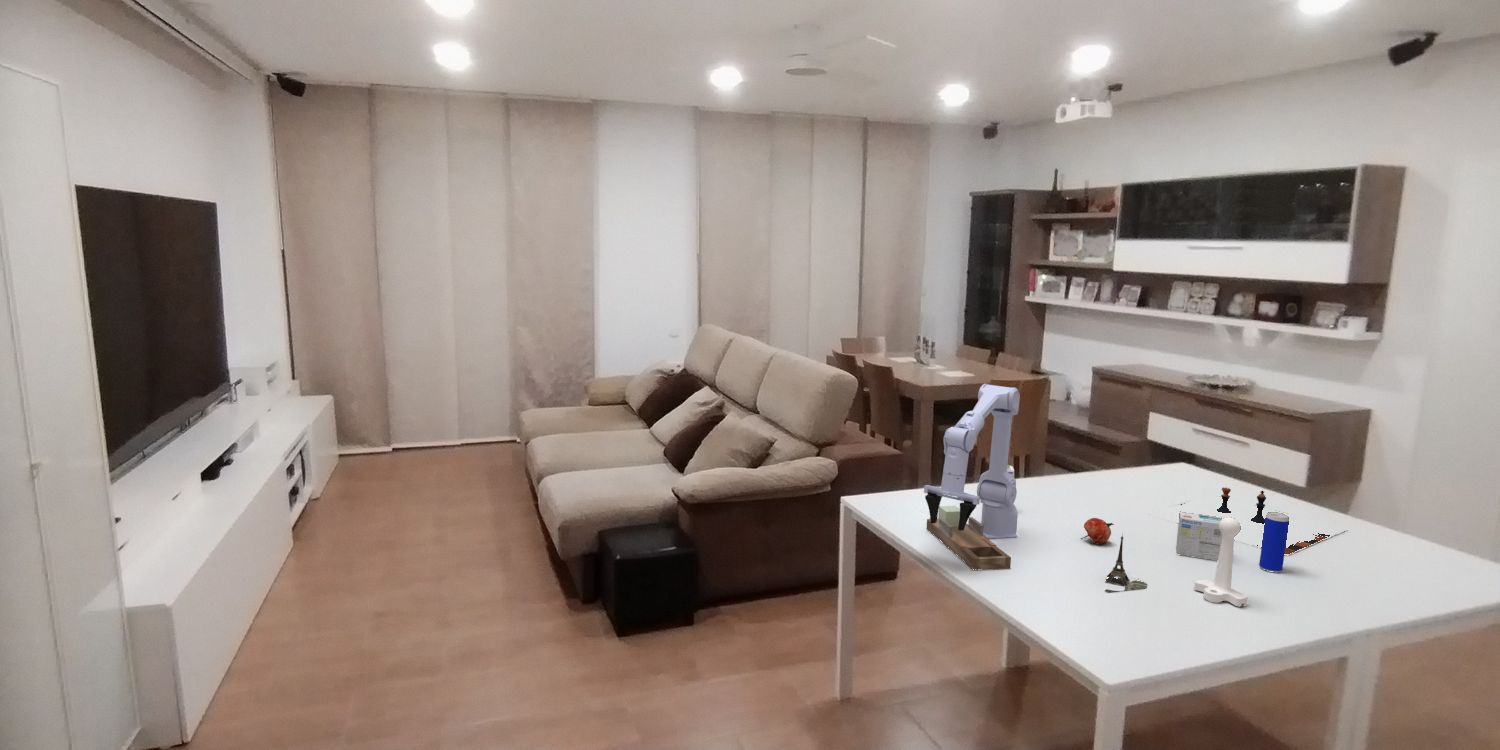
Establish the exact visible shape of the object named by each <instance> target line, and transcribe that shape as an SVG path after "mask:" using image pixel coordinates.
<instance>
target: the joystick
mask: <svg viewBox="0 0 1500 750" xmlns="http://www.w3.org/2000/svg"><path fill="white" fill-rule="evenodd" d="M1219 529H1220V531H1221V532H1222V535H1223V538H1222V543H1221V548H1220V553H1219V559H1218V561H1217V565H1216V571H1215V575H1214V581H1210V580H1207V579H1198V580H1196V581H1194V583H1193V584H1194V586H1193V590H1195V591H1199V592H1202V593H1203V595H1202V598H1203V599H1205V600H1206V602H1210V603H1212V604H1219V603H1221V602H1223V601H1224V602H1228V603H1231V604H1232V605H1233V606H1236V607H1247V605H1248V595H1246V594H1244V593H1242V592H1240V591H1238V590H1236V589H1233V588H1232V579H1233V578H1232V577H1233V576H1232V575H1233V564H1234V563H1233V561H1234V547H1235V543H1234V542H1235V540H1234V537H1235V536H1236V535H1237V534H1238V533H1239V532H1240V530H1241V526H1240V523H1239V522H1238V521H1237V520H1236V519H1235V518H1232V517H1226V518H1223V519H1222V520H1221V521H1220V523H1219Z"/></svg>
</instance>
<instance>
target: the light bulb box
mask: <svg viewBox="0 0 1500 750" xmlns="http://www.w3.org/2000/svg"><path fill="white" fill-rule="evenodd" d="M1221 520H1222V517H1216V516H1209V515H1202V514H1194V513H1186V512H1181V511H1180V513H1179V523H1177V525H1178V526H1177V535H1176V545H1175V551H1176V552H1175V553H1177V554H1180V555H1179V556H1183V555H1188V556H1187V557H1189V556H1194V557H1193V558H1195V557H1200V558H1199V559H1201V558H1206V559H1205V560H1207V559H1212V560H1211V561H1214V560H1218V559H1219V553H1220V548H1221V543H1222V538H1223V535H1222V532H1221V531H1220V529H1219V523H1220V521H1221ZM1177 554H1176V555H1177Z"/></svg>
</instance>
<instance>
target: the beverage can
mask: <svg viewBox="0 0 1500 750" xmlns="http://www.w3.org/2000/svg"><path fill="white" fill-rule="evenodd" d="M1283 513H1284V512H1283ZM1283 513H1278V512H1268V513H1267V515H1266V518H1265V525H1264V533H1263V540H1262V547H1261V548H1260V549H1261V550H1260V557H1259V563H1258V566H1259V568H1260V567H1261V568H1262V569H1261V568H1260V569H1261V570H1263V569H1265V570H1268V571H1273V572H1279V573H1280V571H1281V572H1282V571H1283V568H1284V561H1285V555H1284V554H1285V547H1286V540H1287V533H1288V525H1289V517H1288V516H1287V515H1285V514H1283ZM1265 570H1264V571H1265ZM1268 571H1267V572H1268Z"/></svg>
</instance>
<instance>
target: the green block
mask: <svg viewBox="0 0 1500 750" xmlns="http://www.w3.org/2000/svg"><path fill="white" fill-rule="evenodd" d="M939 518H943V519H944V520H945V521H946V522H948V523H949V524H950V525H951V526H953V527H958V525H959V519H960V507H958V506H957V505H939V509H938V517H937V519H938V522H939Z"/></svg>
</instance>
